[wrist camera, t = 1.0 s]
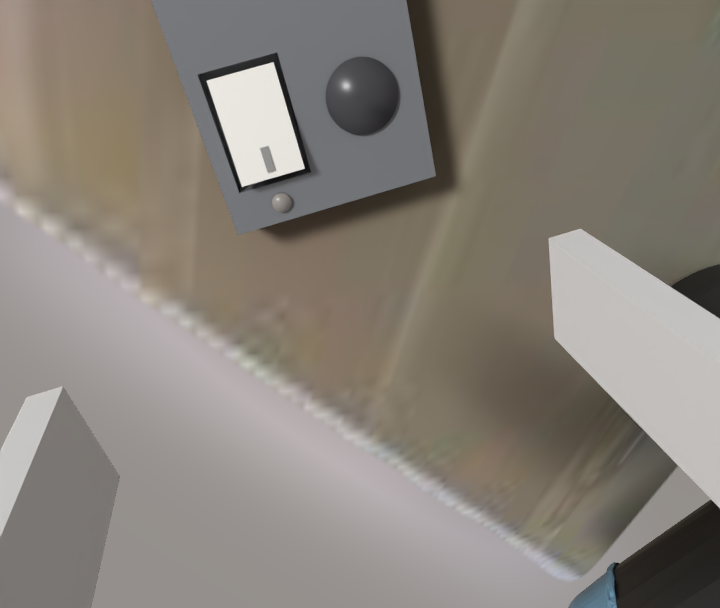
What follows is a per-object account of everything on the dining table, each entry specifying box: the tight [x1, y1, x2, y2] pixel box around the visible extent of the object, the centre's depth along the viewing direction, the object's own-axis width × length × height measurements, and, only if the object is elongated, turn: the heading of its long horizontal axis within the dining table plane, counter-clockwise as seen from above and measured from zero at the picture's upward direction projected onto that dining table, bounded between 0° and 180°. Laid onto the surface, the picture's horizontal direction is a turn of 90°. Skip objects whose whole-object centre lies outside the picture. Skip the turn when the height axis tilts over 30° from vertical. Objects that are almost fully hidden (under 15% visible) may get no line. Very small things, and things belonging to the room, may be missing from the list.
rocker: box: [207, 62, 305, 187], centre depth 27 cm, size 5×3×1 cm, turn 14°
